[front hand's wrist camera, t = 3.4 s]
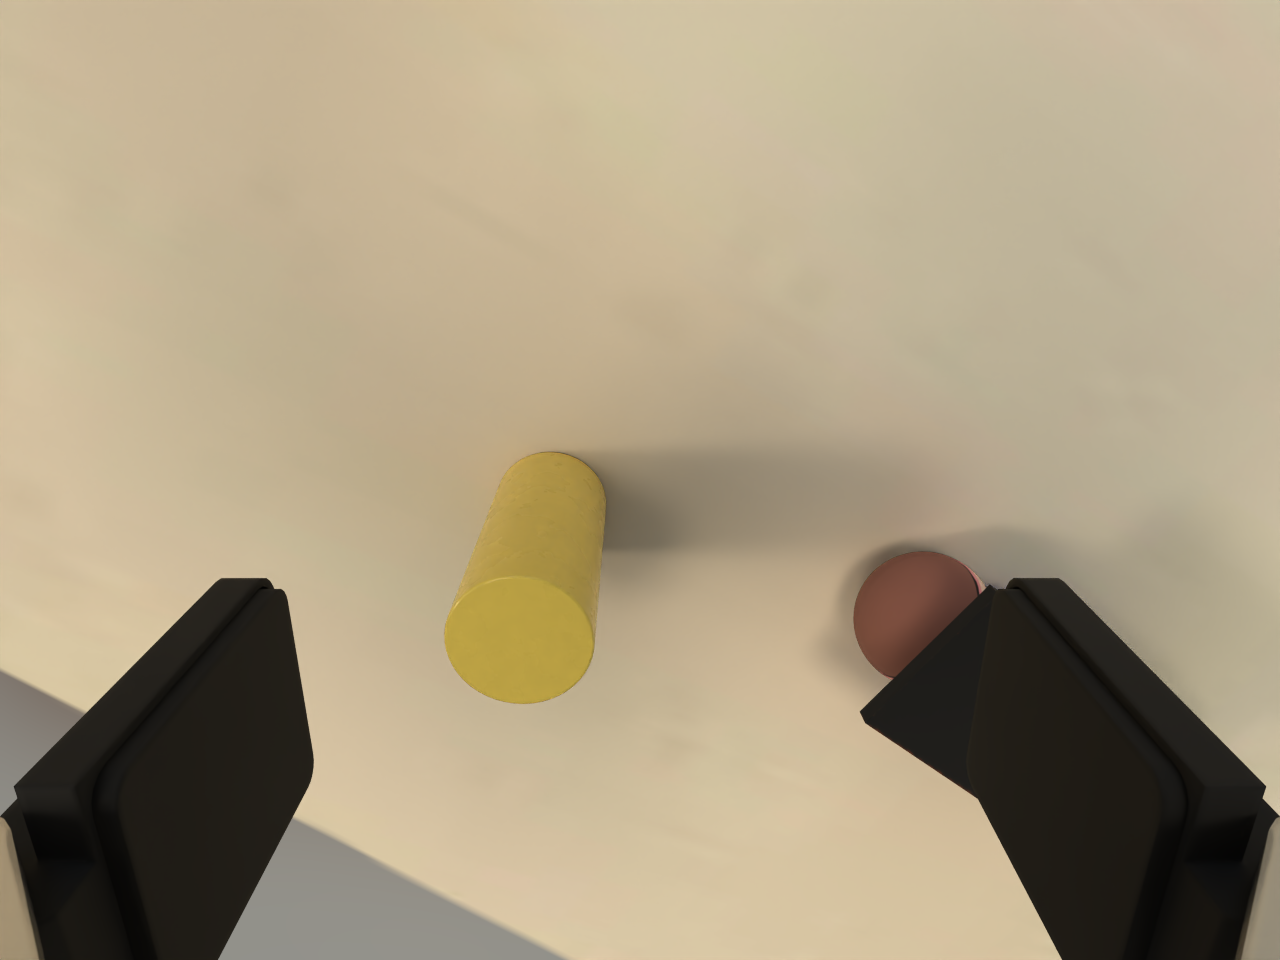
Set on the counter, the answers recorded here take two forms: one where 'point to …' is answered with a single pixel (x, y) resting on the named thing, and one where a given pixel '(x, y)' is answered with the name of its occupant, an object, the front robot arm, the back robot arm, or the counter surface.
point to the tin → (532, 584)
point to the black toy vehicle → (925, 655)
